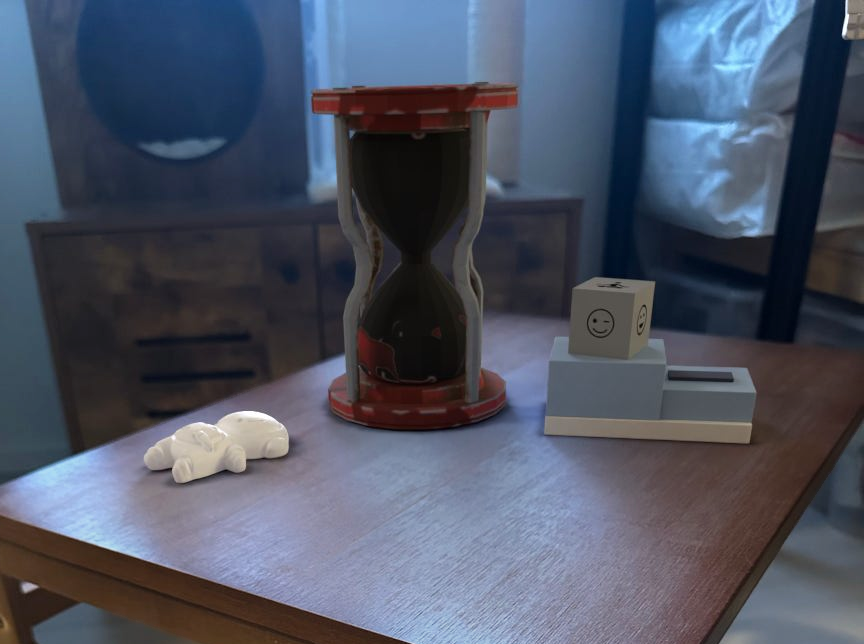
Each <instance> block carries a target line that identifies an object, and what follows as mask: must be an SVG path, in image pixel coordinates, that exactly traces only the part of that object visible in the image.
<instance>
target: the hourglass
mask: <svg viewBox="0 0 864 644" xmlns="http://www.w3.org/2000/svg"><path fill="white" fill-rule="evenodd" d="M518 87H519V84H518V83H517V82H513V83H512V82H506V83H505V82H504V83H503V82H501V83H494V82H493V83H489V81H474V83H459V84H458V83H456V84H455V83H454V84H448V83H447V84H416V85H389V86H388V85H386V86H366V85H365V84H363V85H351V87H348V86H347V87H343V86H342V87H332V88H318V89H317V88H316V89H311V90H310V94H312V96H311V97H310V108H311V113H312V114H315V115H325V116H326V115H328V116H329V115H330V116H333V127H334V148H335V169H336V170H335V171H336V173H335V174H336V192H337V213H338V214H337V216H338V220H339V223H340V226H341V229H342V233H343V235H344V236H345V237H346V239H347V240H348V241H349V243H350V245H351V246H352V249H353V254H354V255H353V256H354V261H355V273H354V274H355V275H354V284H353V287H352V289H351V291H350V293H349V295H348V297H347V299H346V300H345V305H344V311H343V316H342V319H343V320H342V321H343V337H344V340H343V341H344V342H343V343H344V359H345V360H344V361H345V372H344V373H343V374H341V375H339V376H338V377H336V378H334V379H332V381H331V383H330V385H329V386H328V387H327V397H328V398H327V399H328V406H329V408H330V409H331V411H332V413H333V414H335V415H336V416H339V417H340V418H342V419H344V420H346V421H347V422H350V423H351V422H352V423H355V424H360V425H362V426H367V427H373V428H381V429H389V430H390V429H391V430H418V431H419V430H420V431H421V430H422V431H423V430H424V431H425V430H435V429H446V428H455V427H460V426H464V425H468V424H474V423H475V424H476V423H477V422H480V421H483V420H485V419H488V418H490V417H492V416H495V415H496V414H498V413H499V412H500V411H501V410H502V409H503V408H504V407H505V406H506V400H507V381H506V380H505V379H503V377H502V376H500V375H499V374H498V373H497V372H494V371H491V370H489V369H486V368H484V367H482V352H483V351H482V349H483V320H484V319H483V315H484V288H483V284H482V280H481V279H482V278H481V276H480V275H479V273H478V271H477V270H476V268H475V266H474V258H473V257H474V256H473V249H472V248H473V243H474V241H475V239H476V237H477V236H478V234H479V232H480V230H481V225H482V222H483V218H484V208H485V203H486V200H487V164H488V163H487V162H488V161H487V160H488V159H487V158H488V124H489V123H488V121H489V117H490V114H491V111H500V110H509V109H516V108H517V107H518V100H519V90H518V89H517V88H518ZM352 131H353V135H352V136H351V132H352ZM353 193H354V195H355V203H356V208H357V213H358V217H359V220H360V222H361V225H362V226H363V229H364V230H365V235H366V236H365V237H366V239H365V238H364V236H363V235H362V234H361V233H360V230H359V227H358V225H357V222H356V220H355V217H354V203H353ZM466 210H467V215H466V216H465V218H464V219H463V221H462V224H461V226H460V227H459V229H458V234H457V240H456V241H455V242H454V247H453V253H452V257H451V262H450V263H451V264H450V266H451V271H452V272H451V273H452V277H453V278H452V279H453V283H454V284H453V283H452V282H451V281H450V280H449V278H447V276H446V275H445V274H444V273H443V272H442V271H441V269H439V267H437V266H436V265H435V264H434V262H432V251H433V250H434V249H435V248H436V247H437V246H438V244H439V243H440V242H441V241H442V240H443V239H444V238H445V237H446V235H447V234H448V233H449V232H450V231H451V230H452V228H453V227H454V226H455V225H456V224H457V223H458V221H459V220H460V218H461V217H462V216H463V214H464V213H465V212H466ZM382 234H383V235H384V236H385V237H386V238H387V239H388V241H390V243H391V244H392V245H393V246H394V247H395V248H396V249H397V250H398V251H399V252H400V263H398V265H397V266H396V267H395V268H394V269H393V270H392V271H391V273H390V274H389V275H388V276H387V277H386V278H385V280H384V281H383V282H382V283H381V284H380V285H379V287H378V288H377V290H376V291H375V292H374V293H373V291H374V288H375V283H376V279H377V277H378V275H379V274H380V272H381V270H382V266H383V258H384V252H385V248H384V243H383V236H382ZM359 315H360V318H359V321H358V317H359Z"/></svg>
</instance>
